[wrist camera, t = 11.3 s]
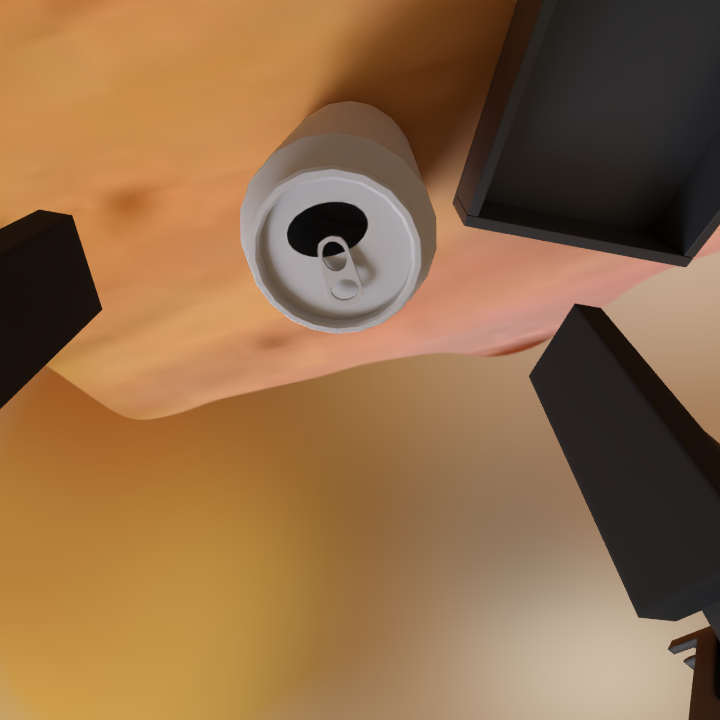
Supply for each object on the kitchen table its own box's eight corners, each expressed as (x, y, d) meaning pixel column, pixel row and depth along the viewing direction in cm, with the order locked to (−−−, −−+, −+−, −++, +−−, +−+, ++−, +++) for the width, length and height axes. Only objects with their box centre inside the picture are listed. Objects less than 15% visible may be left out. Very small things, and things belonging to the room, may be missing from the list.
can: (398, 77, 19) (420, 104, 10) (425, 218, 24) (457, 326, 15) (265, 125, 21) (179, 187, 12) (314, 250, 25) (281, 365, 16)
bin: (561, -137, 15) (606, -182, 12) (852, -55, 16) (959, -78, 13) (452, 203, 23) (463, 226, 20) (649, 241, 24) (686, 267, 21)
